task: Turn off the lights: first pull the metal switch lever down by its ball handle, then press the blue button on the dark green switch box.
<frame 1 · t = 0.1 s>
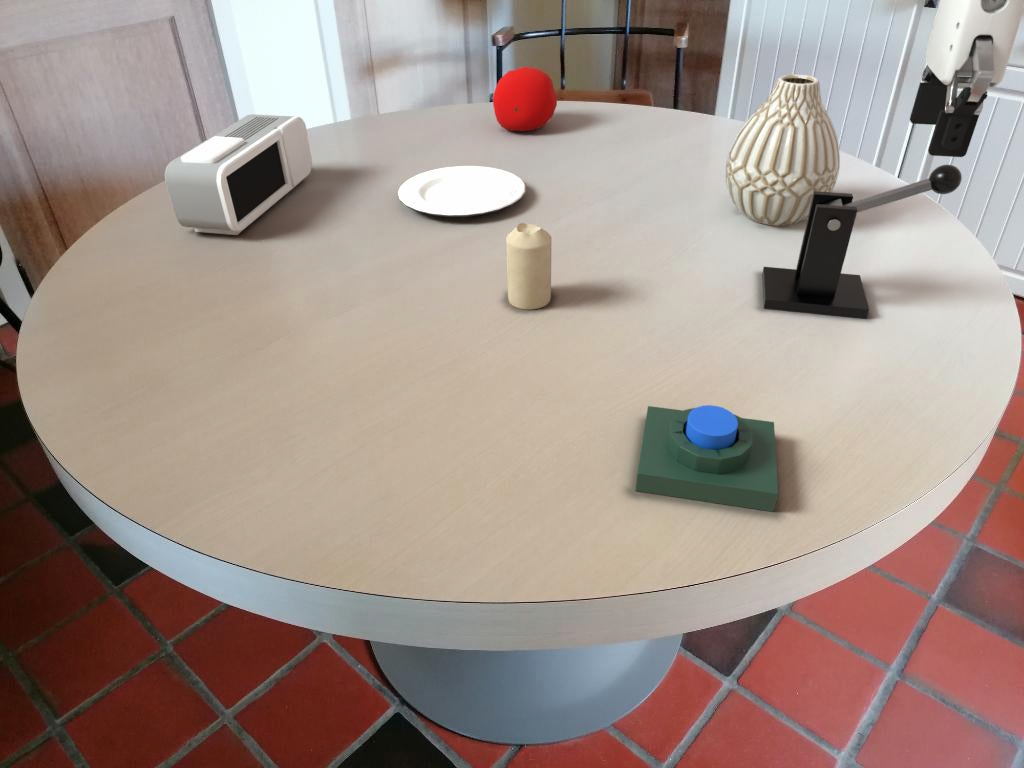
hand: (935, 138, 75), 23 cm above the table, tool pointing down, fingers open, 9 cm apart
tomato: (525, 128, 153), on the table
plate: (462, 200, 124), on the table
candle: (529, 300, 97), on the table
switch bracket: (811, 295, 96), on the table
button: (711, 427, 68), point 4 cm above the table, slide at 0.1 cm
lever: (887, 197, 86), point 14 cm above the table, hinge at 25.0°
switch box: (705, 464, 71), on the table
vase: (772, 215, 116), on the table
alarm clock: (254, 206, 123), on the table
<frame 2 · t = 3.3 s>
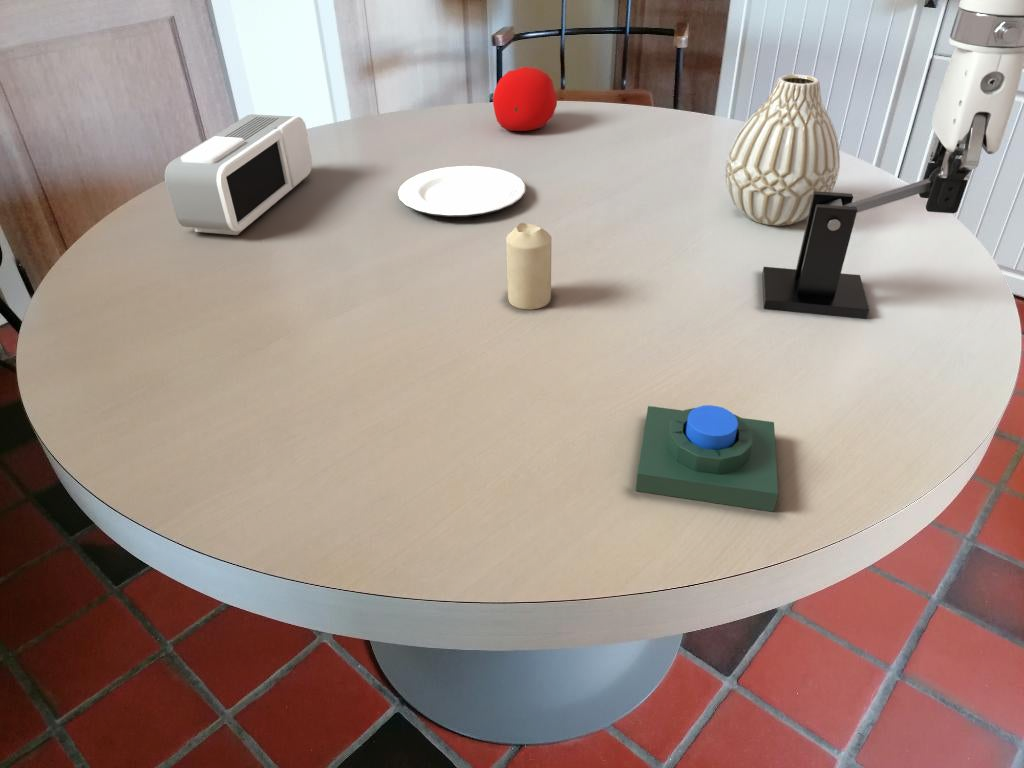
hand: (937, 203, 85), 13 cm above the table, tool pointing down, fingers closed on lever, 3 cm apart
lever: (887, 197, 86), point 14 cm above the table, hinge at 25.0°, touching gripper
everything else where it was.
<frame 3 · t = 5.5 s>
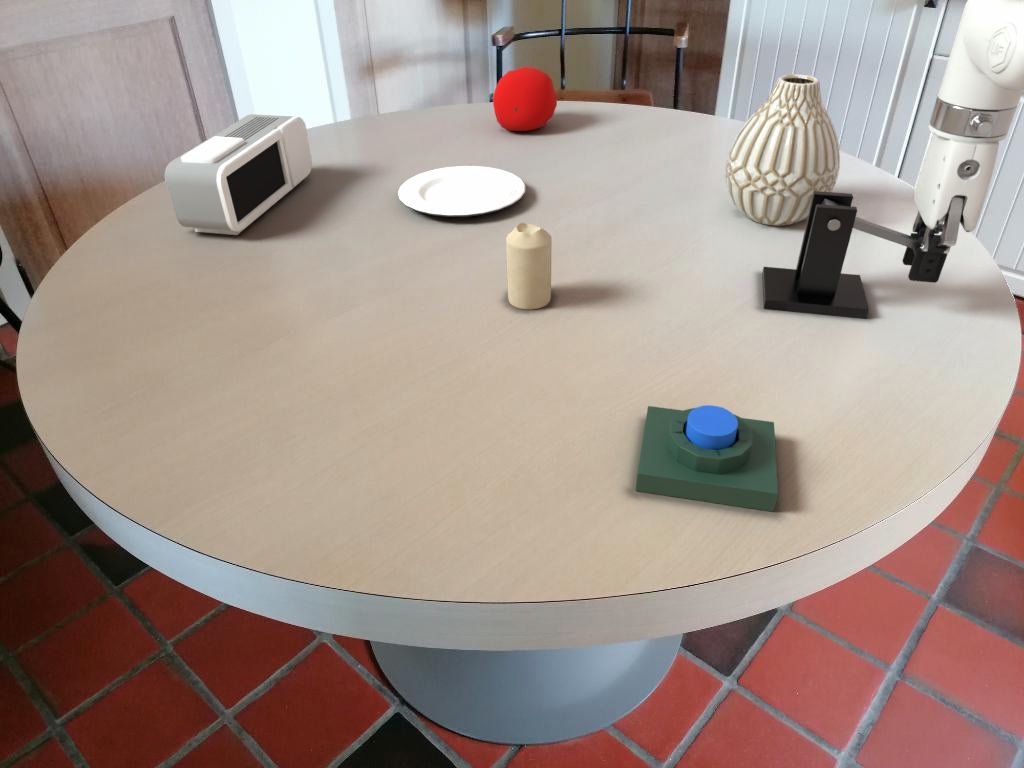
hand: (919, 271, 90), 5 cm above the table, tool pointing down, fingers closed on lever, 3 cm apart
lever: (880, 231, 89), point 9 cm above the table, hinge at -15.8°, touching gripper
everything else where it was.
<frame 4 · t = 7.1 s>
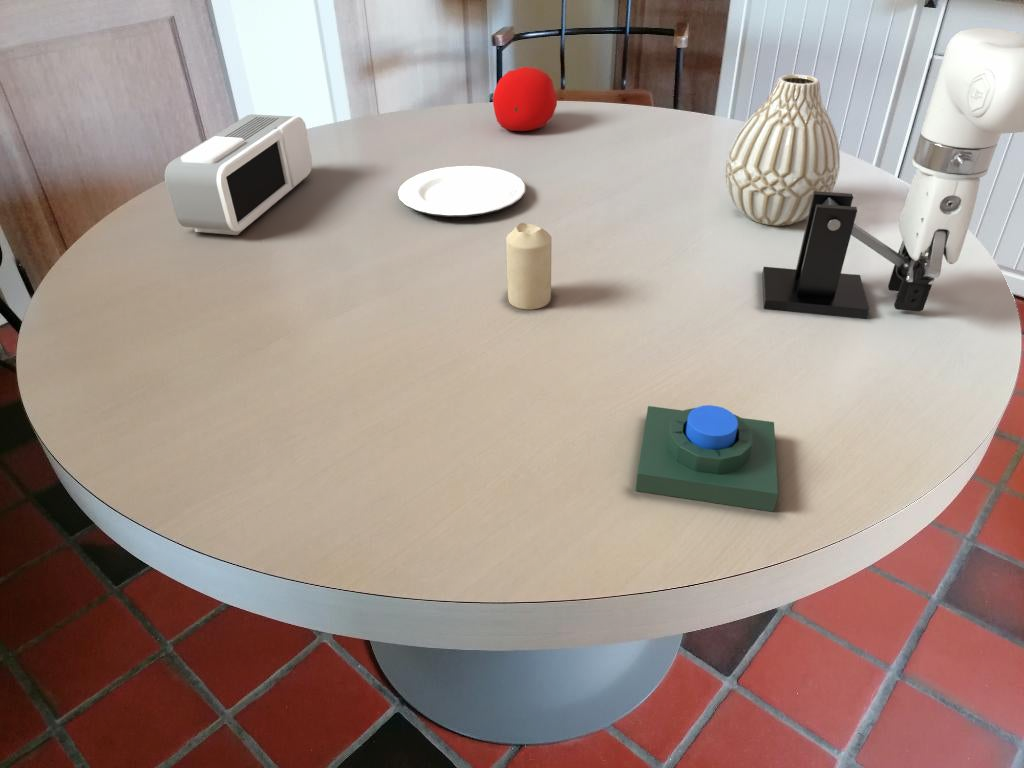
hand: (904, 298, 93), 1 cm above the table, tool pointing down, fingers open, 3 cm apart
lever: (872, 242, 90), point 8 cm above the table, hinge at -30.5°
everything else where it was.
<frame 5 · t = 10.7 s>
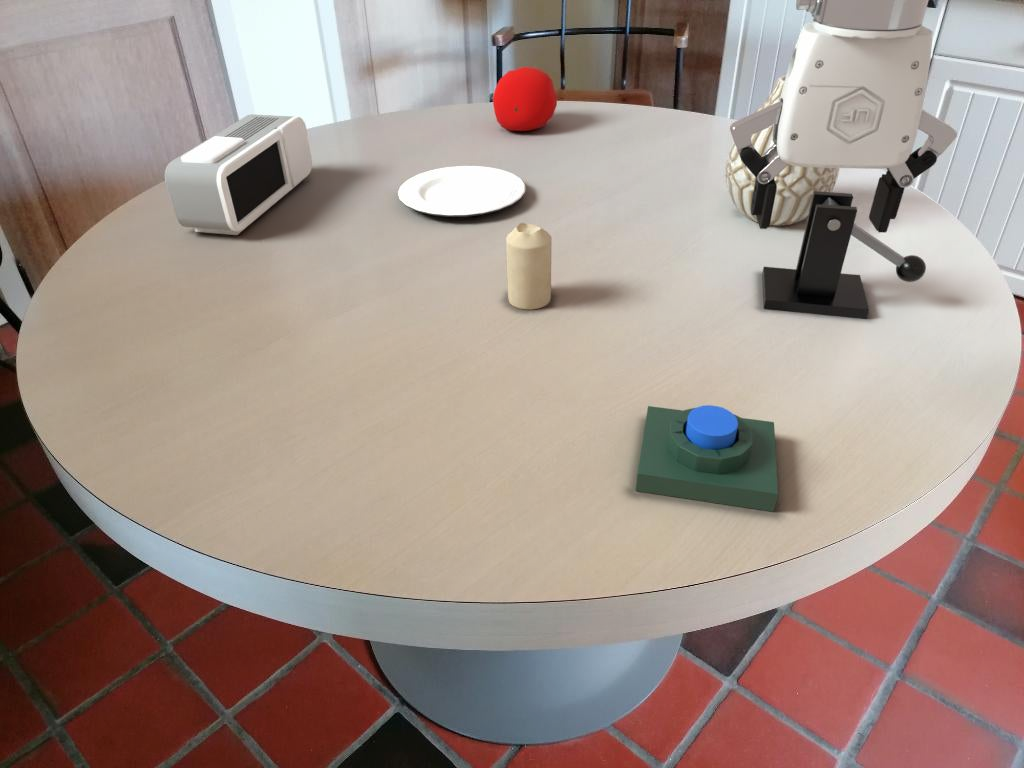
hand: (818, 224, 65), 20 cm above the table, tool pointing down, fingers open, 9 cm apart
nothing on the table moved.
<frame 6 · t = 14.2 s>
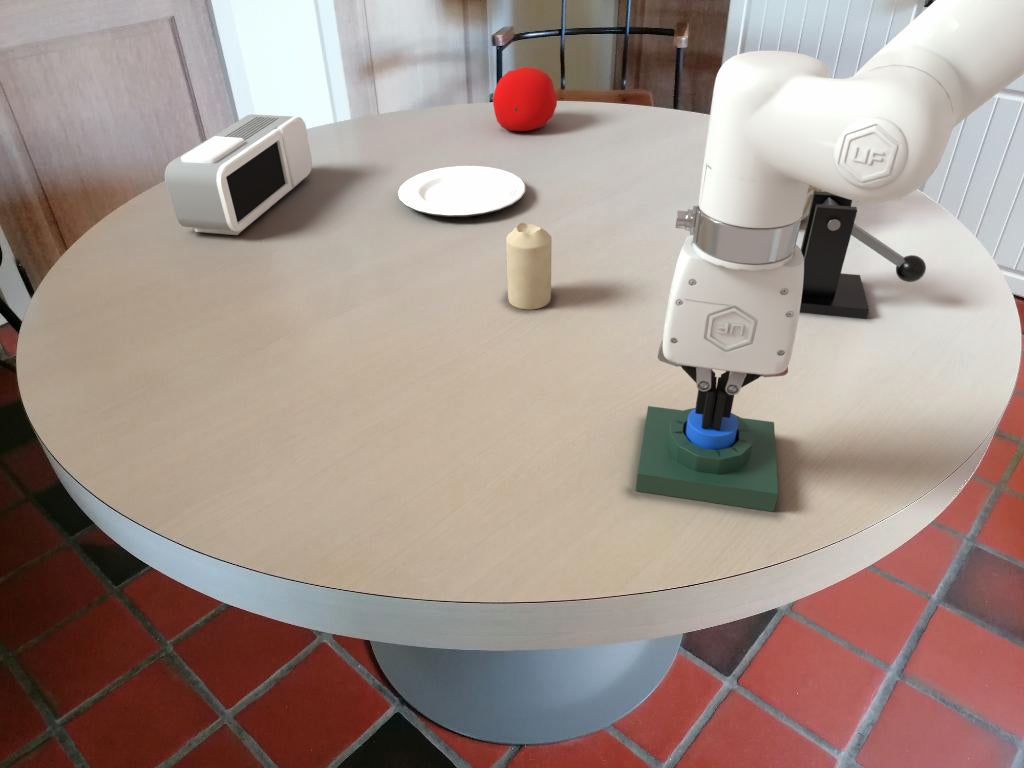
hand: (711, 419, 68), 5 cm above the table, tool pointing down, fingers closed
button: (711, 427, 68), point 4 cm above the table, slide at 0.1 cm, touching gripper
everything else where it was.
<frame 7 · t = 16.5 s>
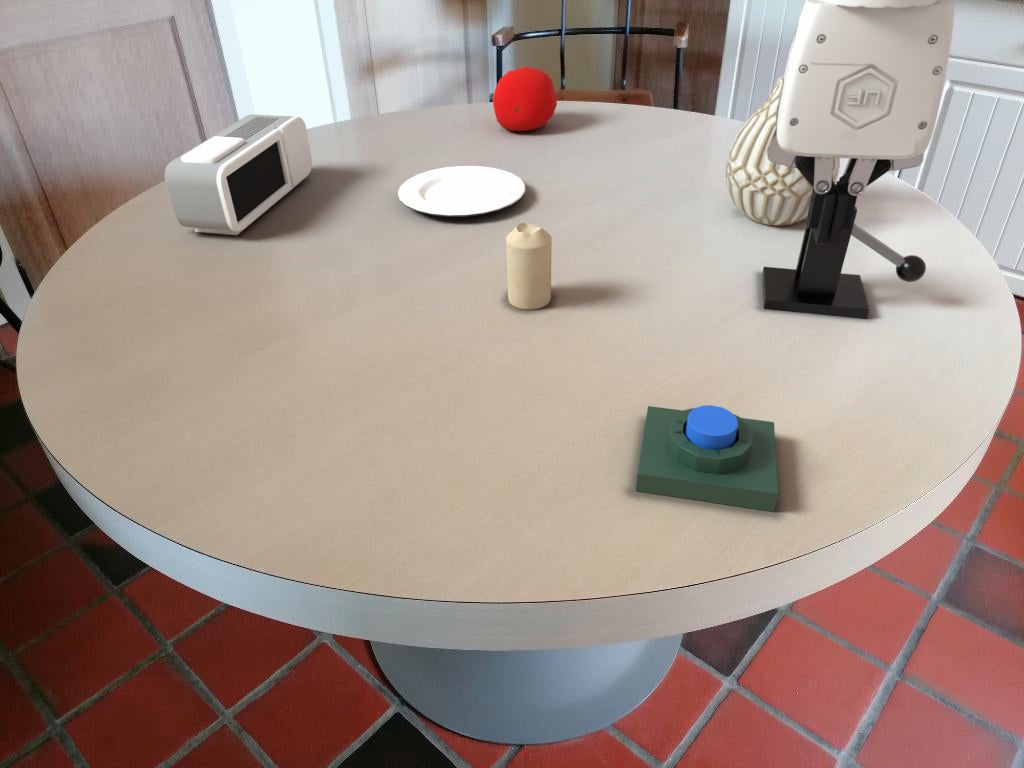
hand: (824, 236, 59), 22 cm above the table, tool pointing down, fingers closed
button: (711, 427, 68), point 4 cm above the table, slide at 0.1 cm
everything else where it was.
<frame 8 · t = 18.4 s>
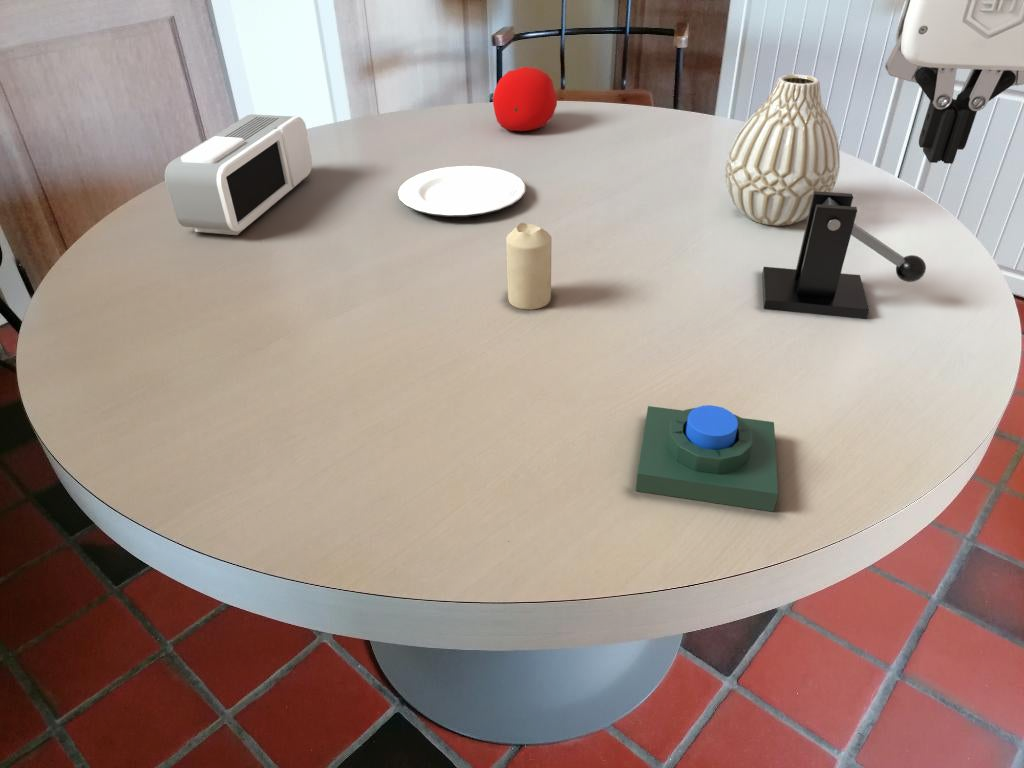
hand: (937, 156, 59), 27 cm above the table, tool pointing down, fingers closed
nothing on the table moved.
at the end: lever at -30° (first picture: +25°); button pushed in 1.1 cm at the most during the clip, back to where it started at the end; button slide at 0.1 cm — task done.
